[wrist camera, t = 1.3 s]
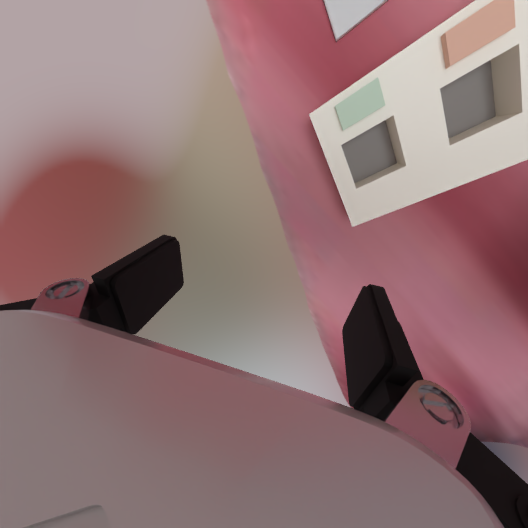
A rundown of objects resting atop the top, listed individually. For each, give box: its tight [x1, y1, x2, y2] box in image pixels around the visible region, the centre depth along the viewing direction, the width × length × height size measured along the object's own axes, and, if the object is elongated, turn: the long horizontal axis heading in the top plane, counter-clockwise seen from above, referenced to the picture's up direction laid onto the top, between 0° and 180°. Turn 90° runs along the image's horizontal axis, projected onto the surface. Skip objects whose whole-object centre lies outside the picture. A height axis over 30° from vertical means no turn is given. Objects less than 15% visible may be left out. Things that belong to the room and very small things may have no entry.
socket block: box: [309, 0, 528, 227], centre depth 22 cm, size 18×14×6 cm
